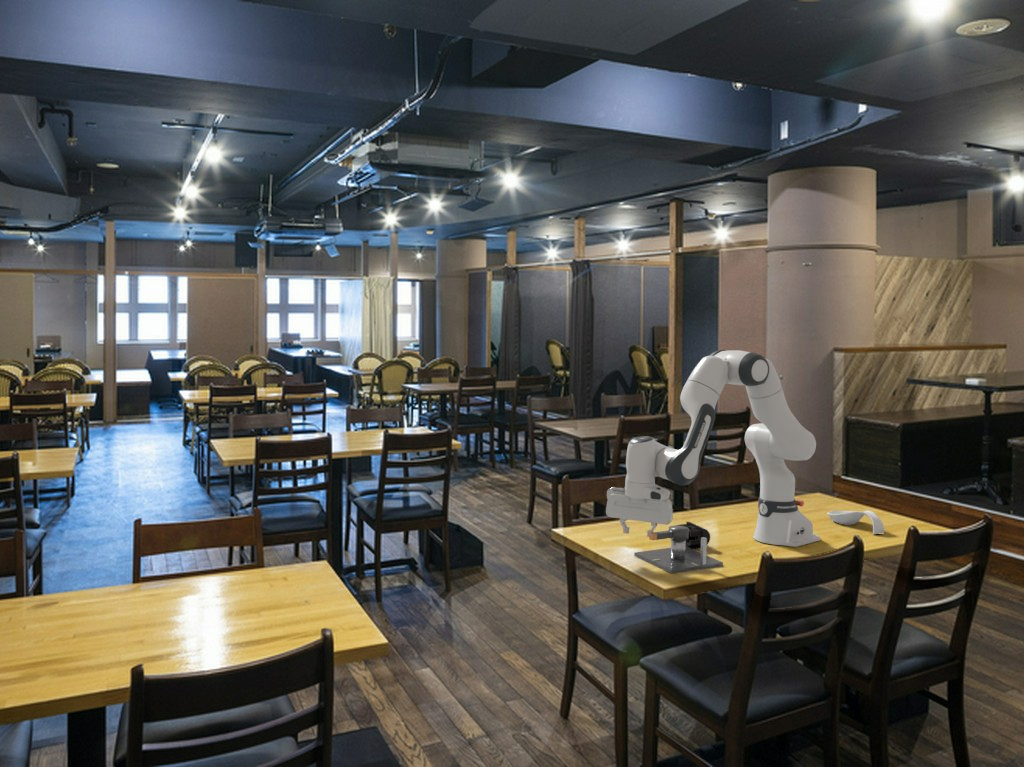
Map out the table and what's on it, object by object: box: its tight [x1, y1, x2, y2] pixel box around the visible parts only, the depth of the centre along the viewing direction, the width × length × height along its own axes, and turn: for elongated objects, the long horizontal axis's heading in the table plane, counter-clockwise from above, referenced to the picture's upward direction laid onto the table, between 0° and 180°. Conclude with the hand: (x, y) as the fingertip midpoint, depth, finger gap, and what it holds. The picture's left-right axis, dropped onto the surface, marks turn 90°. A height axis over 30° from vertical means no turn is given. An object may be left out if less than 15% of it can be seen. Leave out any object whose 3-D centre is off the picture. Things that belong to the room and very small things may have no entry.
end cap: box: [677, 521, 711, 550], centre depth 263 cm, size 10×7×7 cm
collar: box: [648, 524, 689, 541], centre depth 243 cm, size 14×6×3 cm, turn 118°
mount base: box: [633, 537, 724, 574], centre depth 245 cm, size 19×19×9 cm
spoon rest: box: [827, 510, 886, 535], centre depth 289 cm, size 24×12×7 cm, turn 18°
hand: (638, 534), depth 244 cm, fingers open, 6 cm apart
